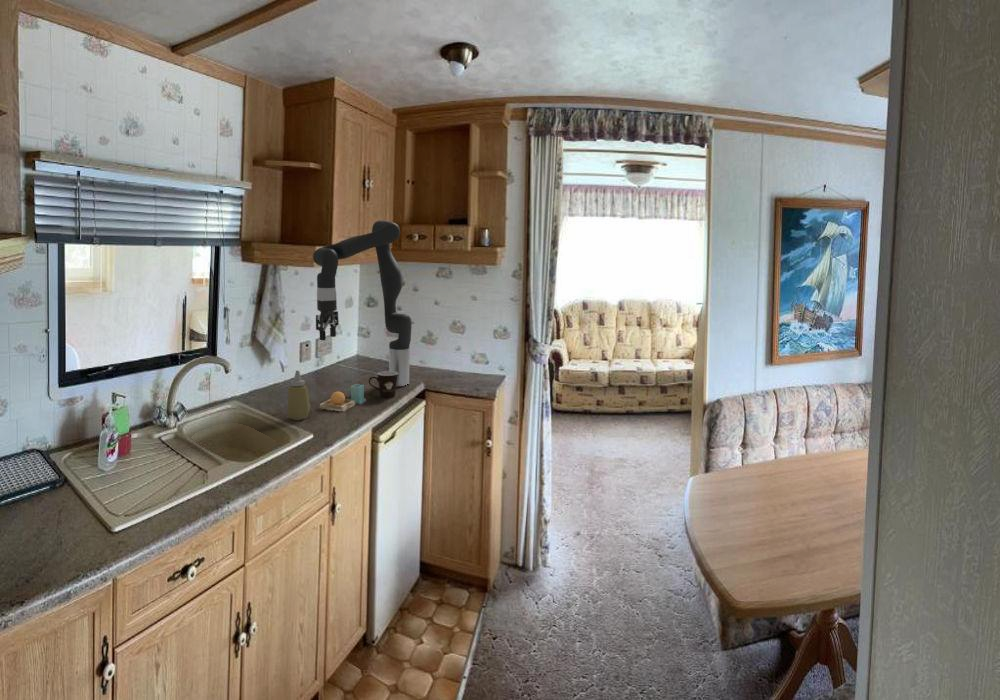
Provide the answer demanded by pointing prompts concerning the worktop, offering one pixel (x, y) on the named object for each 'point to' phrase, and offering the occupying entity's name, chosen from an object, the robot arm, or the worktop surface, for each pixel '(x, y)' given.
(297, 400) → the squeeze bottle
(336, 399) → the ball
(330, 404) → the tray
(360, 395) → the teal box
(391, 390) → the coffee mug
